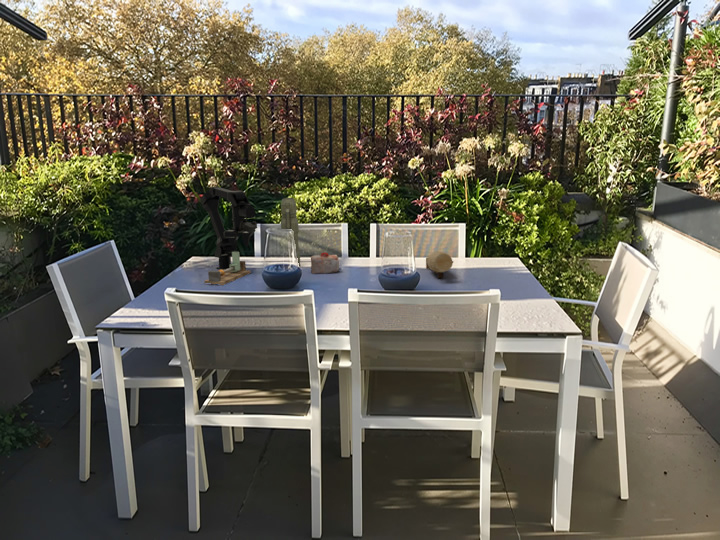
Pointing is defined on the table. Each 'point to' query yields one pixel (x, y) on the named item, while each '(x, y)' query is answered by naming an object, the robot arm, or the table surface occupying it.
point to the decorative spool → (439, 262)
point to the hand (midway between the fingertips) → (241, 248)
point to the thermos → (290, 219)
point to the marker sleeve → (235, 261)
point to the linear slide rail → (227, 275)
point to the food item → (324, 263)
